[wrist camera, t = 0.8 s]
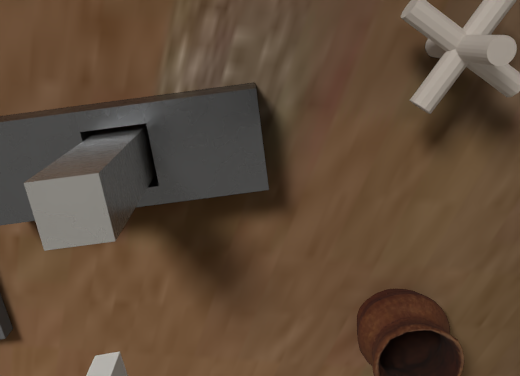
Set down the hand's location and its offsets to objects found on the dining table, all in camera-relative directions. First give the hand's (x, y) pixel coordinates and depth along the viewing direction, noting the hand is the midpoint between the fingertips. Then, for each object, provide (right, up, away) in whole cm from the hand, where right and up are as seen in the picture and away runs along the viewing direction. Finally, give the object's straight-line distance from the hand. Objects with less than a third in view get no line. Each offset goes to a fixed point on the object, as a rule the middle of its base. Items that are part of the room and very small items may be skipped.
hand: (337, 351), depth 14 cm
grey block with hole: (-13, +8, +25) cm, 30 cm away
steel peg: (-13, +8, +25) cm, 30 cm away
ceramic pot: (+11, -8, +32) cm, 35 cm away
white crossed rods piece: (+12, +17, +24) cm, 31 cm away
